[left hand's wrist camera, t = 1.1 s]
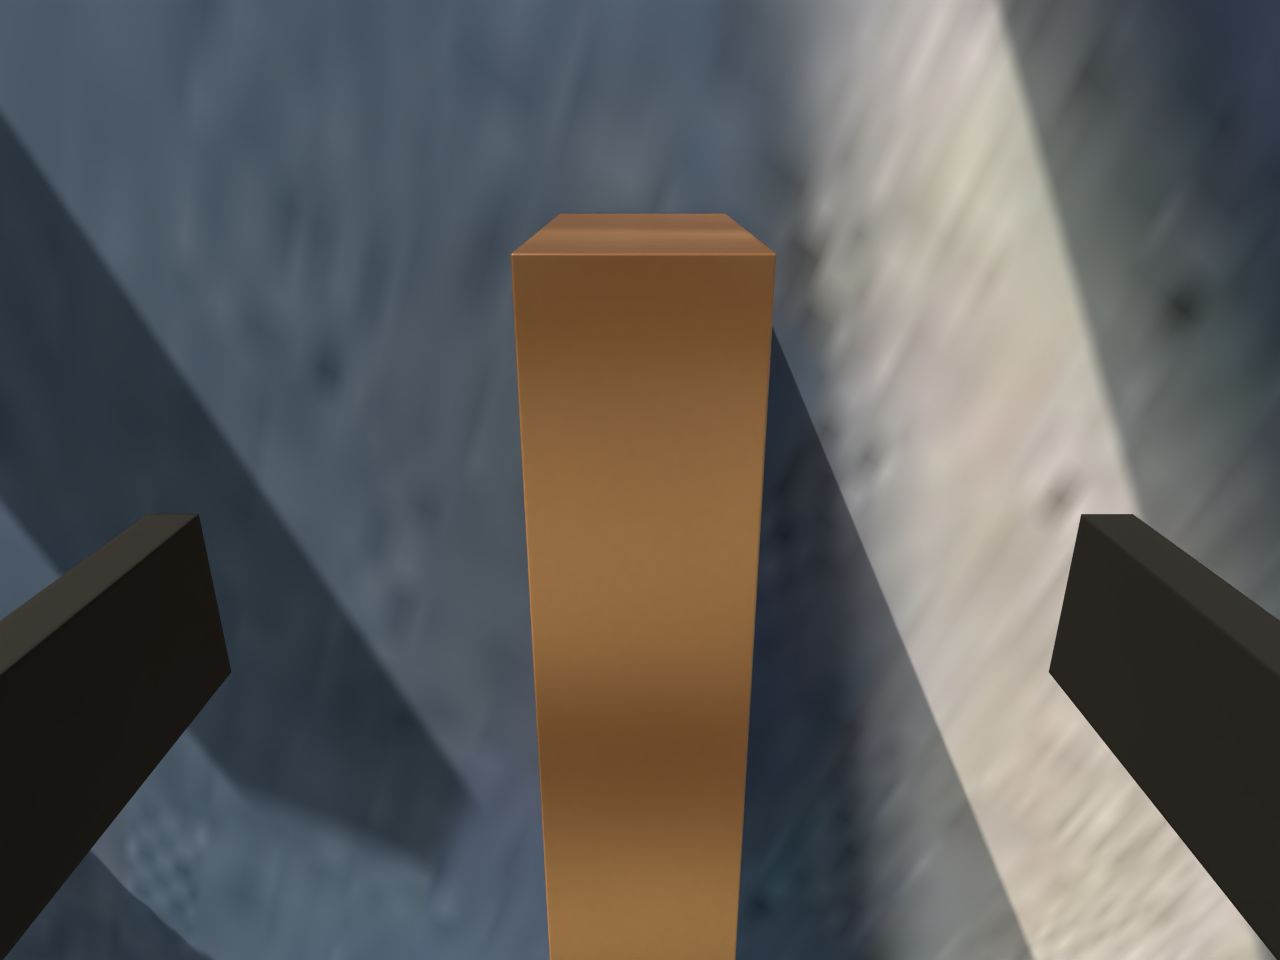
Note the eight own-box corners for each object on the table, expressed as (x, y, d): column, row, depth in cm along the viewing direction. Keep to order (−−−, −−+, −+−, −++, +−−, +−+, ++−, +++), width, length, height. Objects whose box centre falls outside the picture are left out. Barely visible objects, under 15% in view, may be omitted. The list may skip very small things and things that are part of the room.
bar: (558, 213, 24) (510, 252, 15) (726, 213, 24) (777, 252, 15) (580, 833, 32) (557, 1093, 23) (704, 834, 32) (728, 1093, 23)
